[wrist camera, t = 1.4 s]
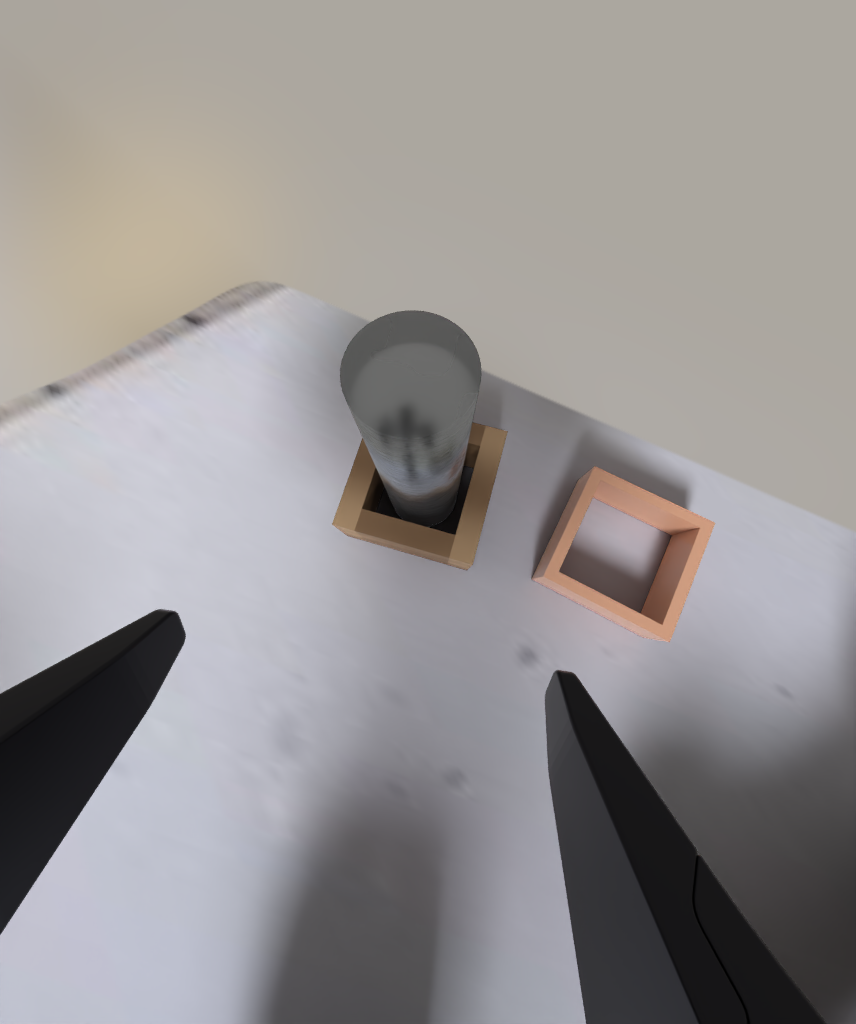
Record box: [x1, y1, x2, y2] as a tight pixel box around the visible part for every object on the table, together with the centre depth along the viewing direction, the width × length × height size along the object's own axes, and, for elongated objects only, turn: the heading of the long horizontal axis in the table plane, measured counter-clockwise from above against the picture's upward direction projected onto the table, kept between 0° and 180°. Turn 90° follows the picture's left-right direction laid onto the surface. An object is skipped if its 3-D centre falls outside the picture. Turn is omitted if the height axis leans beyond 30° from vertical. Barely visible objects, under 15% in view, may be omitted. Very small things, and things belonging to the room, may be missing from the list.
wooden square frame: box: [332, 422, 508, 570], centre depth 22 cm, size 7×7×4 cm
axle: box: [340, 311, 481, 527], centre depth 17 cm, size 4×4×13 cm
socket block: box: [532, 466, 715, 642], centre depth 21 cm, size 7×7×2 cm
